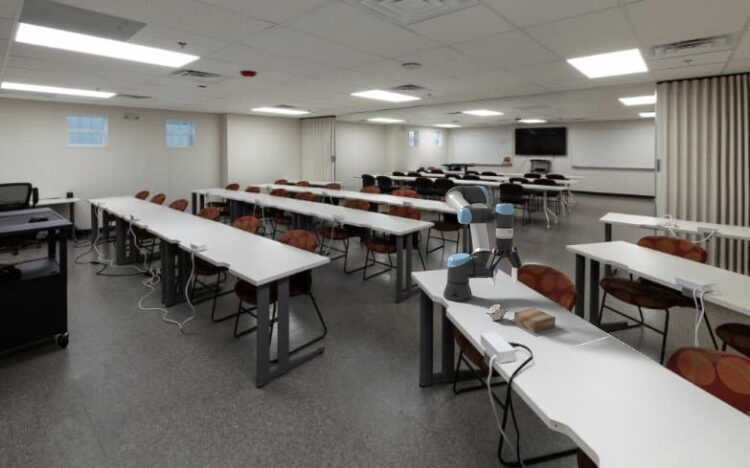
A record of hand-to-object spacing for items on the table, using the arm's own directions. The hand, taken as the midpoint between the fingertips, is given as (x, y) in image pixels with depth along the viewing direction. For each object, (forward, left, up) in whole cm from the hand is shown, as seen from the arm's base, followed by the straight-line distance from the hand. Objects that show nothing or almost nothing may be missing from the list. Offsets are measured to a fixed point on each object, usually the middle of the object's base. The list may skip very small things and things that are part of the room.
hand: (503, 283), depth 182 cm
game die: (+1, -4, -18) cm, 18 cm away
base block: (+13, +7, -17) cm, 22 cm away
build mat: (+13, +7, -17) cm, 23 cm away
